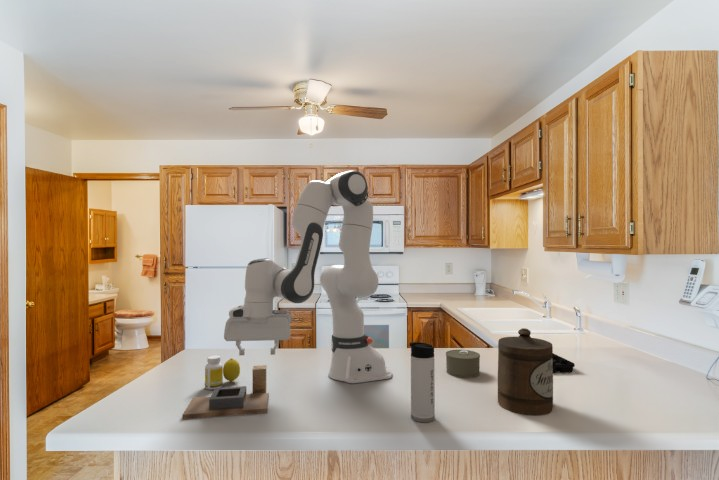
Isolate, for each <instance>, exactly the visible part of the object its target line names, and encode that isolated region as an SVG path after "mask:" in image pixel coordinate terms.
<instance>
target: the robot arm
mask: <svg viewBox="0 0 719 480" xmlns="http://www.w3.org/2000/svg"><path fill="white" fill-rule="evenodd" d="M368 187H369V186H368V182H367V179H366V177H365V176H364V174H363V173H362V172H360V171H356V170H347V171H344V172H340V173H337V174H336V175H334V176H332V177H331V178H328V179H326V180H324V181H322V180H318V179H317V180H310V181H309V182H308V183H307V184H306V185H305V187H304V189H303V190H302V193H301V194H300V196H299V198H298V200H297V203H296V205H295V208H294V211H293V214H292V220H291V226H292V227H293V229H294V231H295V232H296V234H298V235H299V237H300V239H301V240H300V247H299V250H298V251H299V252H298V253H297V254H298V255H297V258H296V262H295V265H294V267H293V268H292V269H289V268H286V267H284V266H281V265H280V264H278V263H276V262H275V261H274V260H273V259H271V258H270V257H268V258H267V257H266V258H265V257H263V258H258V259H257V258H256V259H253V260H251V261H249V262H248V264H247V266H246V269H245V277H244V278H245V279H244V289H245V295H244V296H245V297H244V302H243V303H244V304H241V305H238V306H235V307H233V308H230V310H229V311H228V316H229V318H228V319H227V321H225V326H224V333H223V339H224V340H225V341H226V342H235V346H236V348H237V349H238V350H239V352H238V356H245V348H242V346H241V344H242V342H248V341H249V342H251V341H252V342H253V341H257V342H258V341H274V346H273V347H270V355H271V356H275V355H276V349H277V348H278V346H279V345H280V341H289V340H290V338H291V325H290V324H291V323H292V321H293V314H292V312H290V311H288V310H287V309H283V310H279V309H274V298H281V299H283V300H287V301H289V302H291V303H292V304H301V303H305V302H306V301H308V300H309V298H311V296H312V295H313V293H314V289H315V272H316V267H317V264H318V263H317V262H318V259H319V256H320V252H321V247H322V244H323V243H322V242H323V239H324V237H323V236H324V227H325V224H326V220H327V218H328V215H329V211H330V209H331V207H340V206H341V207H342V211H343V218H342V224H341V229H340V235H339V242H338V247H339V249H340V251H341V252H342V254H343V260H344V261H343V262H344V264H333V265H329V266H327V267H325V268H324V269H322V272H321V274H320V276H319V278H320V279H319V282H320V285H321V288H322V289H323V290H324V291H325V293H326V296H327V298H328V301H329V304H330V310H331V314H332V335H331V338H330V339H331V340H330V341H331V343H330V344H331V345H330V346H331V361H330V367H329V371H328V373H327V375H328V377H329V378H331V379H333V380H335V381H341V382H345V383H347V384H359V383H366V382H367V383H368V382H373V381H379V380H380V381H381V380H387V379H388V380H389V379H391V378H392V376H393V372H392V370H391V369H390V367H388V366H386V361H385V358H384V356H383V355H382V353H381V352H379V351H378V350H376V348H374V347H373V346H371V344H372V343H373V342H374V340H373V338H372V337H370V336H368V335H367V334H365V315H364V311H363V309H362V308H361V307H360V306H359V305H358V302H357V299H356V298H359V299H360V298H367V297H368V298H369V297H371V296H372V295H374V294H375V293H376V292H377V289H378V287H379V276H378V274H377V272H376V271H375V269H374V268H373V266H372V262H371V258H370V247H371V246H370V245H371V239H372V231H373V226H374V225H373V223H374V206H373V204H372V202H371V201H370V200H369V199H368V197H369V193H368V190H369V189H368Z"/></svg>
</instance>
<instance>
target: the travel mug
mask: <svg viewBox="0 0 719 480" xmlns="http://www.w3.org/2000/svg"><path fill="white" fill-rule="evenodd" d="M409 347H410V418H411V419H412V420H413V421H414V422H417V423H431V422H433V421H434V420H435V418H436V415H435V414H436V412H435V411H436V409H435V405H436V404H435V394H436V393H435V391H436V389H435V347H434V346H433V345H432V344H429V343H426V342H419V341H418V342H417V341H415V342H414V341H413V342H412V341H411V342H409Z"/></svg>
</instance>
